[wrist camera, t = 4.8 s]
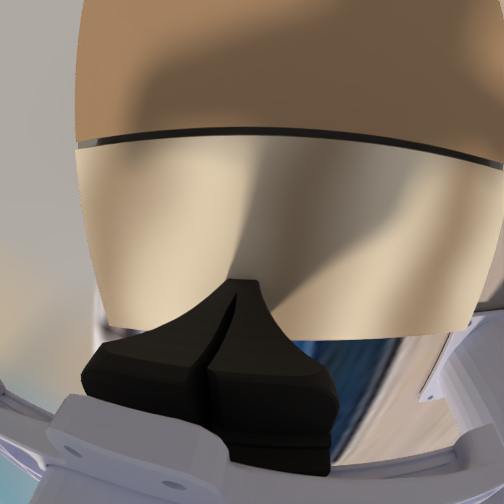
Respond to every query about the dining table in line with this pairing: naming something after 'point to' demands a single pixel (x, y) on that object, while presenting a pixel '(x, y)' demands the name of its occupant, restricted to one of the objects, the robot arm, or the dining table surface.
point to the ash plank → (291, 231)
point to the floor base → (295, 72)
